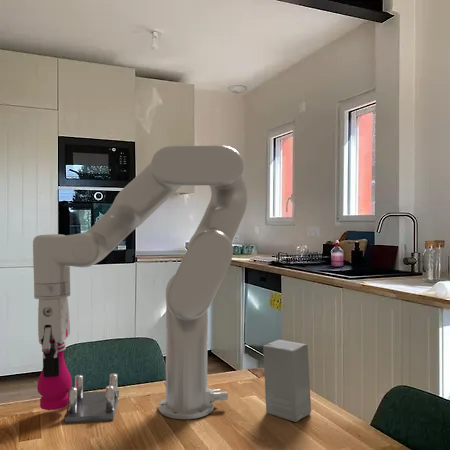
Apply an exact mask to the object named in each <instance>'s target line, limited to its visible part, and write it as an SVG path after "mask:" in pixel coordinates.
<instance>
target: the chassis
mask: <svg viewBox="0 0 450 450" xmlns="http://www.w3.org/2000/svg"><path fill="white" fill-rule="evenodd" d="M119 391H120V390H118V373H110V374H109V385H106V386H105V391H85V392H84V375H83V374H77V375H75V376H74V386H71V387H70V388H69V389H68V405H67V406H68V407H67V408H68V409H67V413H66V415H65V417H64V423H65V424H69V423H71V424H72V423H73V424H74V423H86V422H87V423H88V422H101V421H102V422H104V421H106V422H107V421H114V420H115V414H116V410H117V405H118V401H119V396H120V392H119Z"/></svg>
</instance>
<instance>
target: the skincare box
mask: <svg viewBox="0 0 450 450" xmlns="http://www.w3.org/2000/svg"><path fill="white" fill-rule="evenodd" d="M308 347H309V346H308V344H307V343H301V342H300V343H299V342H295V341H289V340H285V339H281V338H280V339H277V340H273V341H271V342H269V343H266V344H264V345H262V349H263V366H264V367H263V369H264V371H263V372H264V393H265V410H266V411H265V412H266V414H268V415H273V416H276V417H278V418H281V419H285V420H287V421H290V422H293V423H297V422H299V421H300V420H301V419H304V418H305V417H307V416H309V415H311V413H312V405H311V404H312V403H311V401H312V399H311V384H310V368H309V367H310V366H309V348H308Z"/></svg>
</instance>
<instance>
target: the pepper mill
mask: <svg viewBox="0 0 450 450" xmlns="http://www.w3.org/2000/svg"><path fill="white" fill-rule="evenodd" d="M67 335H68V330H67V329H66V337H67ZM67 338H68V337H67ZM42 340H44V336H43V339H42ZM51 343H55V340H51ZM51 348H53V349H54V346H51ZM66 349H67V347H66V342H65V341H64V342H63V343H62V344H59V343H58V352H57V357H59V375H58V376H54V377H44V376H43V368H42V369H41V372H40V375H39V377H38V380H37V392H38V393H39V394H40V395H41V397H40V399H39V407H40V409H41V410H43V411H56V410H61V409H63V408H65V407H67V406H68V389H69V388H70V387H73V380H72V375H71V373H70V371H69V368H68V366H67V365H66V360H65V361H64V350H66ZM41 352H42V353H43V345H41Z"/></svg>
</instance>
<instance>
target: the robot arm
mask: <svg viewBox="0 0 450 450" xmlns="http://www.w3.org/2000/svg"><path fill="white" fill-rule="evenodd" d="M244 167H245V166H244V160H243V156H242V155H241V154H240V152H238V150H236V149H235V148H233V147H231V146H227V145H218V144H217V145H169V146H164V147H161V148H160V149H159V150H157V151H156V152H155V153H154V154H153V156H152V158H151V162H150V163H149V164H148V165H146V167H145V168H144V169H143V170H142V171H141V172H140V173H139V174H137V175H136V176H135V177H134V178H133V179H132V180H131V181H130V182H128V183H127V185H125V186H124V187H123V188H122V189H121V190H120V191H119V192H118V194H117V195H116V196H115V198H114V200H113V202H112V204H111V206H110V208H109V209H108V210H107V211H106V213H104V215H102V217H100V218H99V219H98V220H97V221H96V222H95V223H94V224H93V225H92V226H91V227H90V228H89V229H88V230H87V231H85V232H80V233H75V234H67V235H65V234H61V233H59V234H55V233H53V234H39V235H36V236H35V237H33V240H32V256H33V257H32V263H33V264H32V269H33V294H34V295H33V299H35V300H38V305H37V306H38V308H37V311H38V313H37V314H38V315H37V316H38V317H37V321H38V322H37V328H38V329H37V331H38V332H37V336H38V343H39V345H41V346H42V345H43V352H42V369H43V376H44V377H54V376H58V375H59V357H57V352H58V343H59V344H62V343H63V342H65V341H66V340H67V339H68V337H69V336H70V334H71V323H70V312H69V311H70V310H69V307H70V306H69V300H68V297H70V296H71V268H70V267H75V268H90V267H92V266H94V265H96V264H98V263H99V262H101V261H103V260H104V259H105V258H106V257H107V256H108V255H109V254H110V253H111V252H113V250H114V249H115V248H116V247H118V245H119V244H120V243H122V242H123V240H125V239H126V238H127V237H128V236H129V235H130V234H131V233H132V232H133V231H134V230H135V229H137V228H138V227H140V225H142V224H143V223H144V222H145V221H146V220H147V219H148V218H149V217H150V216H151V215H152V214H153V213H154V212H156V211H157V210H158V208H160V206H162V205H163V204H164V203H165V202H166V201H167V200H168V199H169V198H170V197H172V195H174V194H175V193H176V191H178V190H179V189H180V188H181V187H182V186H209V188H210V192H211V193H210V194H211V196H210V201H209V203H208V205H207V207H206V209H205V212H204V214H203V216H202V218H201V220H200V222H199V224H198V227H197V228H196V230H195V231H194V233H193V235H192V236H191V238H190V239H189V241H188V245H187V249H186V252H185V254H184V256H183V258H182V259H181V262H180V264H179V266H178V268H177V270H176V271H175V272H176V273H174V274H173V275H172V276H170V277H171V278H170V279H169V280H168V282H167V284H166V287H165V288H166V289H165V303H166V305H165V306H166V308H165V309H166V310H165V312H166V313H165V318H166V319H165V323H166V324H165V331H166V332H165V397H164V398H162V399H161V400H160V401H159V403H158V411H159V412H160V414H161V415H163V416H165V417H167V418H170V419H176V420H193V419H194V420H195V419H199V418H203V417H205V416H207V415H209V414H211V413H212V412H213V411H214V409H215V408H214V407H215V403H214V402H215V401H220V402H222V401H228V398H229V395H228V391H221V388H217V389H211V388H209V384H208V339H209V327H208V326H209V325H208V324H209V321H208V318H209V315H208V314H209V313H208V310H209V308H210V306H211V305H212V303H213V301H214V299H215V297H216V295H217V293H218V290H219V288H220V287H221V284H222V283H223V280H224V278H225V277H226V274H227V272H228V269H229V268H230V265H231V263H232V260H233V256H234V247H233V244H232V242H233V240H234V238H235V236H236V234H237V232H238V229H239V227H240V224H241V222H242V220H243V218H244V215H245V213H246V209H247V205H248V189H247V186H246V182H245V180H244V177H243V172H244V169H245V168H244ZM66 329H67V330H68V335H67V337H66ZM43 336H44V340H42V339H43ZM51 340H55V343H51ZM51 346H54V349H53V348H51ZM65 350H66V349H65ZM65 350H64V361H65V362H66V354H65Z"/></svg>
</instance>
